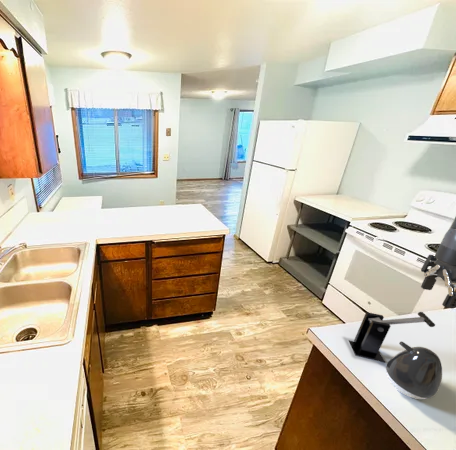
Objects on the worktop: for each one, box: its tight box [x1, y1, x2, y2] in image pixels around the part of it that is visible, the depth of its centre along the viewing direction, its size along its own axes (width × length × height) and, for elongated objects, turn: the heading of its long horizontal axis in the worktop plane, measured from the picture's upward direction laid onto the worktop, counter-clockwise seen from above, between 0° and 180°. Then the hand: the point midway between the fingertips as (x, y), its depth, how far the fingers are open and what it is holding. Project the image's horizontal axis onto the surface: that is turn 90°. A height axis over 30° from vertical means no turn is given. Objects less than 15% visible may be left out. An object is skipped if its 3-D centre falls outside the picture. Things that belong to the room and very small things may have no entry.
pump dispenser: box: [385, 341, 443, 400], centre depth 66 cm, size 10×10×15 cm
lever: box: [368, 311, 436, 328], centre depth 74 cm, size 14×5×2 cm, turn 71°
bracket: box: [348, 311, 392, 364], centre depth 78 cm, size 8×8×14 cm
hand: (436, 297), depth 68 cm, fingers open, 8 cm apart
